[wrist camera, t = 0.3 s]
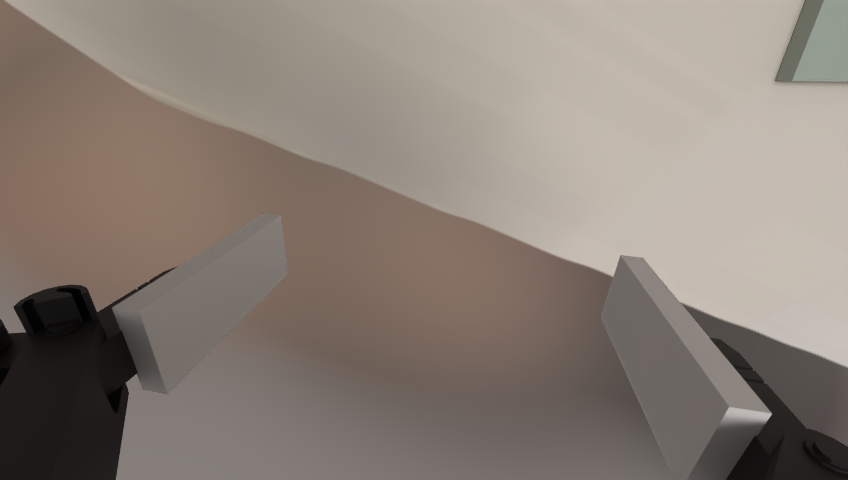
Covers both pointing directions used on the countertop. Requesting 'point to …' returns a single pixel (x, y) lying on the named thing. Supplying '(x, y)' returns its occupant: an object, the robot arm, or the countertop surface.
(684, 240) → the countertop surface
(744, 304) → the countertop surface
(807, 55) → the socket plate
